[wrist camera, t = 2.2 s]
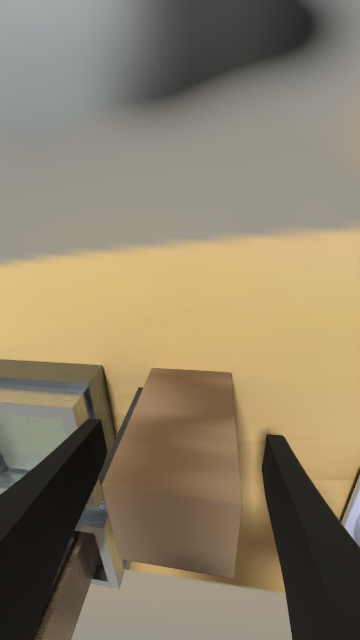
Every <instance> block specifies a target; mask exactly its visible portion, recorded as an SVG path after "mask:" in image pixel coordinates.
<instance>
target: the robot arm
mask: <svg viewBox="0 0 360 640" xmlns="http://www.w3.org/2000/svg"><path fill="white" fill-rule="evenodd" d="M107 453H108V450H107V446H106V441H105V436H104V431H103V426H102V422H101V420H100V419H89V418H88V419H87V420H86V421H85V422H84V423H83V424H82V425H81V426H80V427H78V428H77V429H76V430H75V431H74V432H73V433H72V434H71V435H70V436H69V437H68V438H67V439H65V440H64V441H63V442H62V443H61V444H60V445H59V446H58V447H57V448H56V449H54V450H53V451H52V452H51V453H50V454H49V455H48V456H47V457H46V458H44V459H43V460H42V461H41V462H40V463H39V464H37V465H36V466H35V467H34V468H33V469H32V470H30V471H29V472H28V473H27V474H26V475H24V476H23V477H22V478H21V479H20V480H18V481H17V482H16V483H14V484H13V485H12V486H11V487H9V488H8V489H7V490H6V491H4V492H3V493H2V494H0V640H34V637H35V634H36V631H37V628H38V625H39V622H40V619H41V616H42V613H43V610H44V608H45V605H46V602H47V599H48V596H49V594H50V591H51V588H52V585H53V582H54V580H55V577H56V574H57V572H58V569H59V567H60V564H61V561H62V559H63V556H64V553H65V551H66V548H67V546H68V544H69V541H70V539H71V537H72V534H73V532H74V530H75V528H76V526H77V524H78V522H79V519H80V517H81V515H82V513H83V511H84V509H85V507H86V504H87V502H88V500H89V498H90V496H91V494H92V492H93V489H94V487H95V485H96V483H97V481H98V478H99V477H98V476H99V474H100V472H101V469H102V467H103V465H104V462H105V459H106V456H107ZM262 473H263V482H264V490H265V497H266V502H267V506H268V511H269V516H270V520H271V525H272V529H273V534H274V538H275V543H276V547H277V552H278V556H279V561H280V565H281V570H282V575H283V580H284V585H285V592H286V599H287V605H288V612H289V619H290V625H291V632H292V639H293V640H360V476H359V478H358V481H357V483H356V486H355V488H354V491H353V494H352V496H351V499H350V501H349V504H348V506H347V509H346V512H345V514H344V517H343V519H342V522H340V521H339V519H338V518H337V517H336V515H335V514H334V513H333V511H332V510H331V509H330V507H329V506H328V504H327V503H326V502H325V500H324V499H323V497H322V496H321V494H320V493H319V492H318V490H317V489H316V487H315V486H314V484H313V483H312V481H311V480H310V478H309V477H308V475H307V474H306V472H305V471H304V469H303V467H302V466H301V464H300V463H299V461H298V459H297V458H296V456H295V454H294V453H293V451H292V449H291V448H290V446H289V444H288V442H287V441H286V439H285V437H284V436H282V435H270V434H267V438H266V444H265V451H264V458H263V464H262Z"/></svg>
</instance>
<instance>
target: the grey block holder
mask: <svg viewBox="0 0 360 640" xmlns="http://www.w3.org/2000/svg"><path fill="white" fill-rule="evenodd" d="M88 418H89V419H100V420H101V422H102V426H103V431H104V436H105V441H106V446H107V450H108V453H107V456H108V454H109V452H110V450H111V448H112V445H113V443H114V441H115V434H114V429H113V423H112V418H111V412H110V407H109V401H108V396H107V391H106V385H105V380H104V374H103V369H102V366H101V365H84V364H67V363H50V362H33V361H16V360H0V494H2V493H3V492H4V491H6V490H7V489H8V488H9V487H11V486H12V485H13V484H14V483H16V482H17V481H18V480H20V479H21V478H22V477H23V476H24V475H26V474H27V473H28V472H29V471H30V470H32V469H33V468H34V467H35V466H36V465H37V464H39V463H40V462H41V461H42V460H43V459H44V458H46V457H47V456H48V455H49V454H50V453H51V452H52V451H53V450H54V449H56V448H57V447H58V446H59V445H60V444H61V443H62V442H63V441H64V440H65V439H67V438H68V437H69V436H70V435H71V434H72V433H73V432H74V431H75V430H76V429H77V428H78V427H80V426H81V425H82V424H83V423H84V422H85V421H86V420H87V419H88ZM107 456H106V458H107ZM105 461H106V459H105ZM104 463H105V462H104ZM130 562H131V561H129V560H123V559H119V557H118V552H117V548H116V544H115V540H114V536H113V534H112V531H111V526H110V522H109V518H108V514H107V510H106V506H105V502H104V497H103V493H102V489H101V485H100V481H99V478H98V481H97V483H96V485H95V487H94V489H93V492H92V494H91V496H90V498H89V500H88V502H87V504H86V507H85V509H84V511H83V513H82V515H81V517H80V519H79V522H78V524H77V526H76V528H75V530H74V532H73V534H72V537H71V539H70V541H69V544H68V546H67V548H66V551H65V553H64V556H63V559H62V561H61V564H60V567H59V569H58V572H57V574H56V577H55V580H54V582H53V585H52V588H51V591H50V594H49V596H48V599H47V602H46V605H45V608H44V610H43V613H42V616H41V619H40V622H39V625H38V628H37V631H36V634H35V637H34V640H71V638H72V635H73V632H74V629H75V626H76V623H77V621H78V618H79V615H80V612H81V609H82V606H83V603H84V600H85V597H86V594H87V592H88V589H89V586H90V583H91V584H97V585H102V586H107V587H112V588H118V589H119V588H120V585H121V581H122V577H123V574H124V570H125V569H128V570H129V566H130Z"/></svg>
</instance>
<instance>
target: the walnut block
mask: <svg viewBox="0 0 360 640" xmlns="http://www.w3.org/2000/svg"><path fill="white" fill-rule="evenodd" d="M98 477H99V481H100V485H101V489H102V493H103V497H104V502H105V506H106V510H107V514H108V518H109V522H110V526H111V531H112V534H113V536H114V540H115V544H116V548H117V552H118V557H119V559H123V560H129V561H135V562H140V563H146V564H152V565H158V566H163V567H169V568H175V569H180V570H186V571H192V572H198V573H203V574H209V575H215V576H220V577H226V578H232V579H234V572H235V563H236V555H237V546H238V537H239V528H240V519H241V511H242V495H241V483H240V471H239V459H238V447H237V435H236V423H235V412H234V400H233V388H232V376H231V373H230V372H213V371H196V370H179V369H162V368H152V369H151V371H150V374H149V376H148V378H147V381H146V383H145V385H144V388H141V387H139V388H138V390H137V393H136V395H135V397H134V399H133V401H132V404H131V406H130V408H129V410H128V412H127V415H126V417H125V419H124V421H123V423H122V426H121V428H120V430H119V432H118V434H117V437H116V439H115V441H114V443H113V445H112V448H111V450H110V452H109V454H108V456H107V458H106V461H105V463H104V465H103V467H102V469H101V472H100V474H99V476H98Z"/></svg>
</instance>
